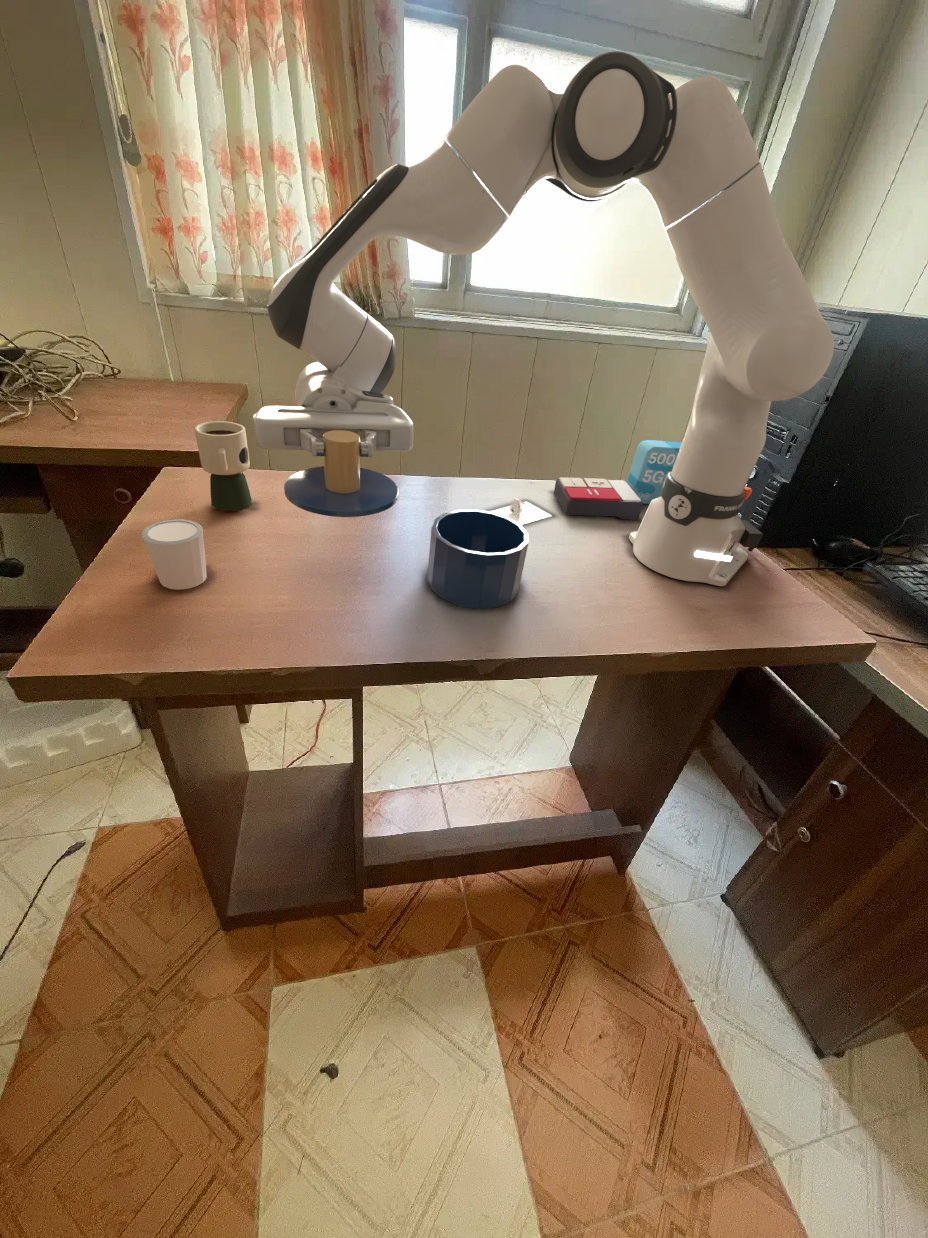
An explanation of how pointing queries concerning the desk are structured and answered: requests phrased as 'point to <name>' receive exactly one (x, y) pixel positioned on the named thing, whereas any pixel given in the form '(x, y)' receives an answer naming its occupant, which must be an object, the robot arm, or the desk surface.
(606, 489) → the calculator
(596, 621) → the desk surface
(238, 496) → the character mug
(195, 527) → the white tapered cup
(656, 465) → the data package
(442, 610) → the desk surface
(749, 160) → the robot arm
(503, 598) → the pot
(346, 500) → the lid
